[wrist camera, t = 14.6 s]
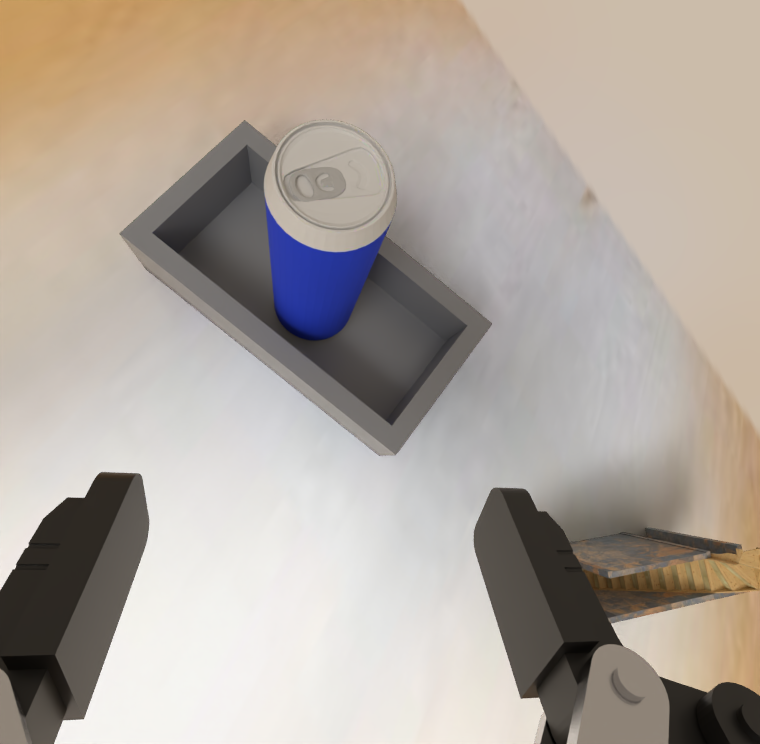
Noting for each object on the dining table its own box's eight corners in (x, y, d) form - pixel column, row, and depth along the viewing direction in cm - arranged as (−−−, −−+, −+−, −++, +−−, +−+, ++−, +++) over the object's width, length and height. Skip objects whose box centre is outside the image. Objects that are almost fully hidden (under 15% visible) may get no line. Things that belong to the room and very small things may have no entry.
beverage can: (335, 262, 32) (374, 101, 18) (361, 329, 32) (422, 221, 17) (263, 281, 31) (242, 126, 17) (289, 352, 30) (289, 256, 16)
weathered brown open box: (643, 520, 35) (774, 542, 25) (652, 562, 34) (789, 601, 25) (506, 545, 32) (594, 579, 23) (513, 590, 32) (606, 645, 23)
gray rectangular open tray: (145, 269, 31) (119, 233, 26) (250, 169, 33) (244, 120, 29) (379, 455, 31) (395, 455, 27) (463, 342, 34) (492, 323, 29)
